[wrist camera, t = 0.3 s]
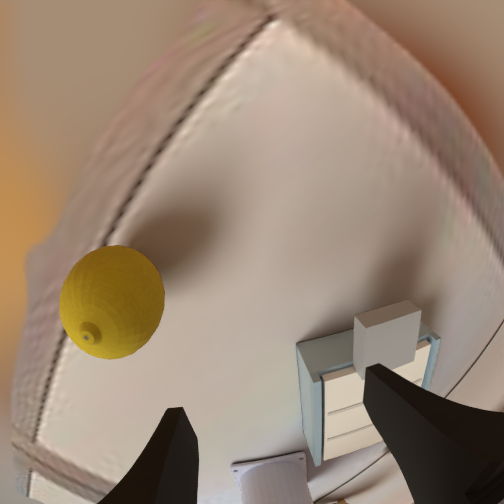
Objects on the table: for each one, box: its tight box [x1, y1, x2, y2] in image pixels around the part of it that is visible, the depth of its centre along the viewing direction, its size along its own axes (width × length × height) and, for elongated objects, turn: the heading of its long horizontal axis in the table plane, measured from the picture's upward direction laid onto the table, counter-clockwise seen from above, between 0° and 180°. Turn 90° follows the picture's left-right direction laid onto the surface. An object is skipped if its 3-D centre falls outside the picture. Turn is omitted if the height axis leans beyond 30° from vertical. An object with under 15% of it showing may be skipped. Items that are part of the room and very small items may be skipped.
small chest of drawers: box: [322, 299, 431, 461], centre depth 18 cm, size 14×8×2 cm, turn 9°
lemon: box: [59, 245, 165, 359], centre depth 14 cm, size 6×6×8 cm
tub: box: [296, 321, 441, 467], centre depth 20 cm, size 11×10×5 cm
